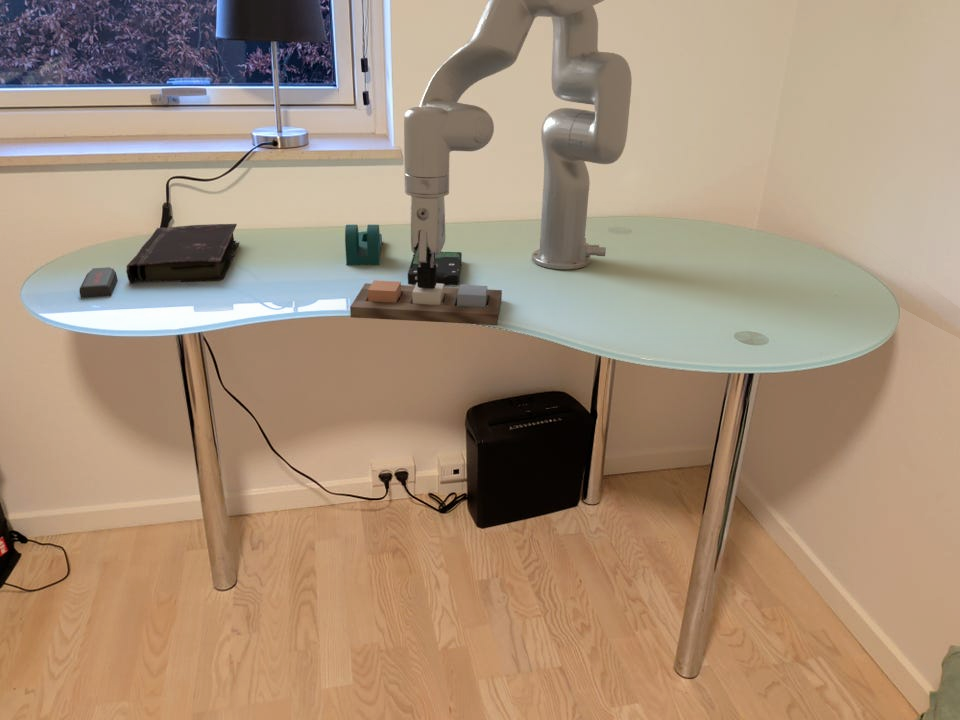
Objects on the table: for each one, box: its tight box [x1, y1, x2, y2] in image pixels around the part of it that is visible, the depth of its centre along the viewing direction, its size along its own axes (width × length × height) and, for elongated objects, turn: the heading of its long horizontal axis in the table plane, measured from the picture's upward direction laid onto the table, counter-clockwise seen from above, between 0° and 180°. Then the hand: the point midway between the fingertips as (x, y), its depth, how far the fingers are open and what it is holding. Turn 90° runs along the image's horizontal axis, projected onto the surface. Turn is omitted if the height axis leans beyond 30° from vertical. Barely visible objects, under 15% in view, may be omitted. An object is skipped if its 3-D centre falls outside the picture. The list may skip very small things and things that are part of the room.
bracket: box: [344, 224, 383, 266], centre depth 164 cm, size 18×7×8 cm, turn 4°
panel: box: [349, 282, 503, 326], centre depth 136 cm, size 26×12×2 cm, turn 85°
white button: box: [412, 283, 445, 305], centre depth 136 cm, size 5×5×3 cm
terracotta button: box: [368, 279, 402, 303], centre depth 136 cm, size 5×5×3 cm
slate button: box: [457, 284, 488, 307], centre depth 135 cm, size 5×5×3 cm
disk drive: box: [407, 251, 463, 286], centre depth 154 cm, size 10×3×15 cm
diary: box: [125, 223, 240, 285], centre depth 156 cm, size 19×25×5 cm
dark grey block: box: [79, 266, 118, 299], centre depth 143 cm, size 5×12×3 cm, turn 16°
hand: (426, 286), depth 135 cm, fingers closed
